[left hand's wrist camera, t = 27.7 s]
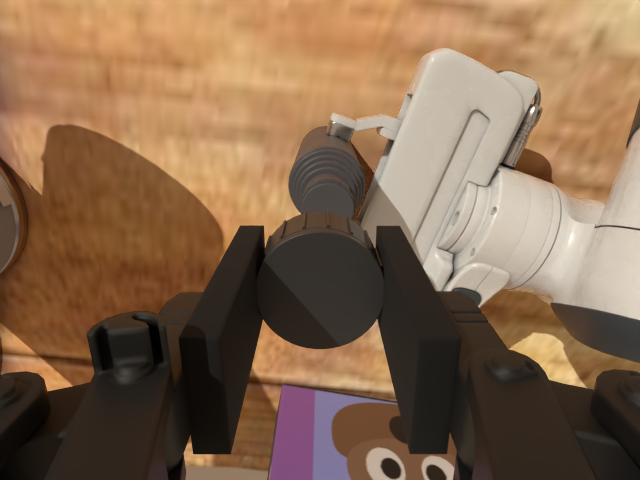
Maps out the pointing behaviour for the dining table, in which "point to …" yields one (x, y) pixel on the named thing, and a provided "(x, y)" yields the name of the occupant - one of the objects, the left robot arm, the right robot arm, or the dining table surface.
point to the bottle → (326, 175)
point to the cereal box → (347, 440)
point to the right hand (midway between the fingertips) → (314, 162)
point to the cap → (320, 281)
